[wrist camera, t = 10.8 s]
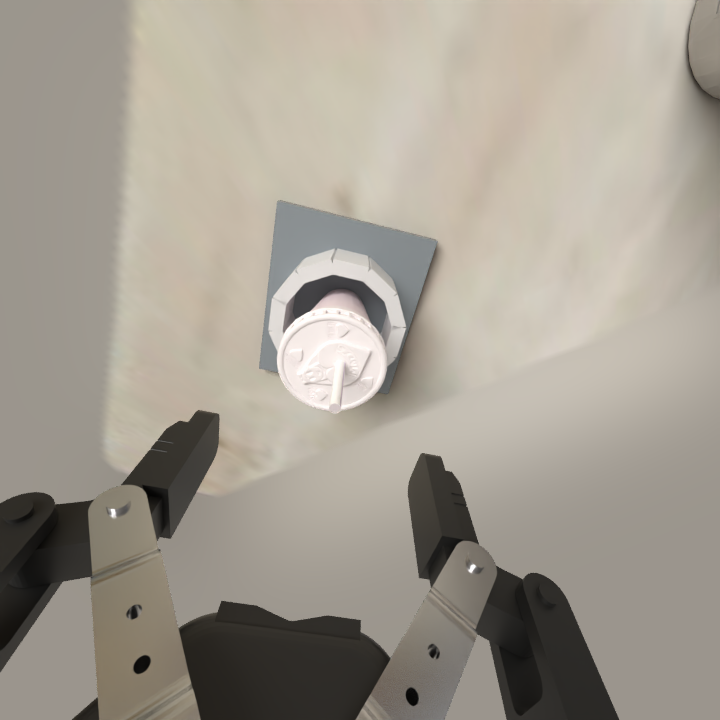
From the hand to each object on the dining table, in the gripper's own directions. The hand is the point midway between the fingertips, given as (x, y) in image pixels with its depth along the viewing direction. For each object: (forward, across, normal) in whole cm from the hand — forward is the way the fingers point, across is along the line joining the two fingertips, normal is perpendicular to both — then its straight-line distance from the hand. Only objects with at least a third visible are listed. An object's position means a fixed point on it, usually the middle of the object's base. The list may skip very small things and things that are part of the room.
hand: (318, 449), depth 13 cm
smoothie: (+16, 0, 0) cm, 17 cm away
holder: (+17, 0, 0) cm, 17 cm away
